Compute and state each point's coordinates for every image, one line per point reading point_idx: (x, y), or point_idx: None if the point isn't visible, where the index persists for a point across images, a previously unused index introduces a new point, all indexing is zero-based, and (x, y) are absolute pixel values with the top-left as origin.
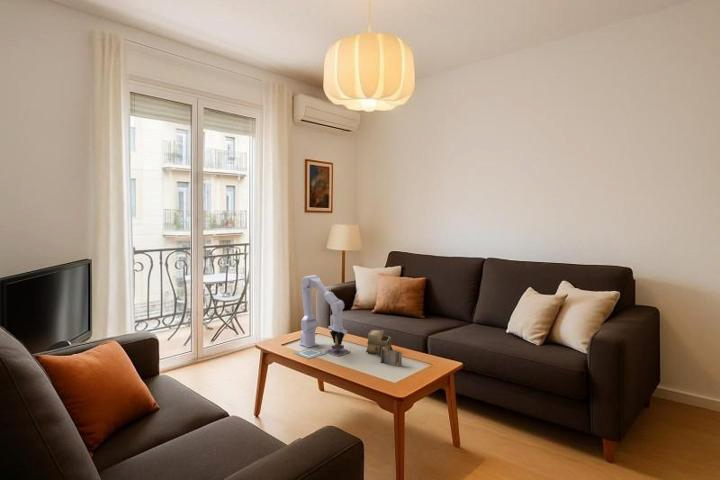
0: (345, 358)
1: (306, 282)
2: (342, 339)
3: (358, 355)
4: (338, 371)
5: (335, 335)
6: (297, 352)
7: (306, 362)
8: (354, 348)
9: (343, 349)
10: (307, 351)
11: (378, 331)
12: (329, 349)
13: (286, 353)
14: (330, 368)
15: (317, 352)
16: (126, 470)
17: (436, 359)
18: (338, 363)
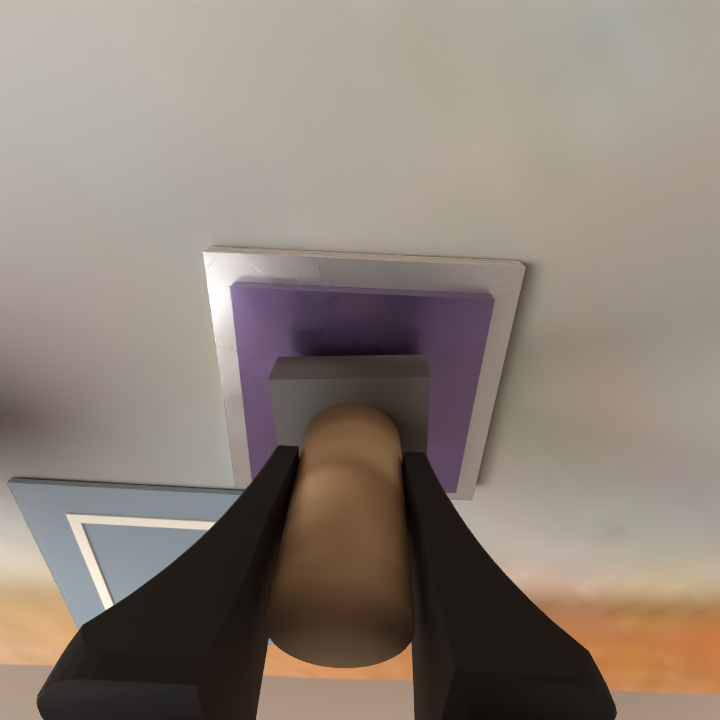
0: (591, 469)
1: None
2: (461, 519)
3: (711, 288)
4: (701, 669)
5: (276, 642)
6: (85, 615)
7: (349, 677)
8: (439, 20)
9: (408, 333)
10: (110, 562)
11: None
12: (254, 452)
13: (50, 651)
14: (603, 665)
15: (203, 530)
16: None
17: None
18: (603, 584)
